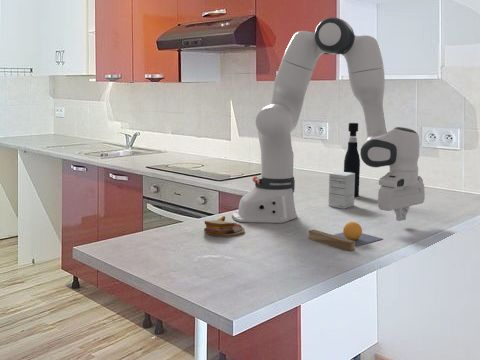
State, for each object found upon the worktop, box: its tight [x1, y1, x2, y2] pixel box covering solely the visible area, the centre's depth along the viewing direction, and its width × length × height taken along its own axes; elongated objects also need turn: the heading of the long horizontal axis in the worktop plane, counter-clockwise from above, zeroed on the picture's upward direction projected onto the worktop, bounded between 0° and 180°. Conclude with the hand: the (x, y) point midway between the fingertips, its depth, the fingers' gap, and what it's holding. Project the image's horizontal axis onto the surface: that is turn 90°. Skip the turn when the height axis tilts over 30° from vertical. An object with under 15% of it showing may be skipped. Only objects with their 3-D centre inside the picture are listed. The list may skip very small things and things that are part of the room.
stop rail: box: [308, 229, 356, 252], centre depth 160 cm, size 2×16×2 cm, turn 38°
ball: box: [342, 221, 363, 240], centre depth 164 cm, size 6×6×6 cm
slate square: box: [333, 232, 383, 247], centre depth 167 cm, size 12×12×1 cm
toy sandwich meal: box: [203, 216, 245, 238], centre depth 173 cm, size 12×14×5 cm
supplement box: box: [328, 170, 355, 209], centre depth 210 cm, size 7×7×13 cm
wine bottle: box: [343, 122, 361, 198], centre depth 227 cm, size 6×6×30 cm
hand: (401, 220), depth 180 cm, fingers closed
